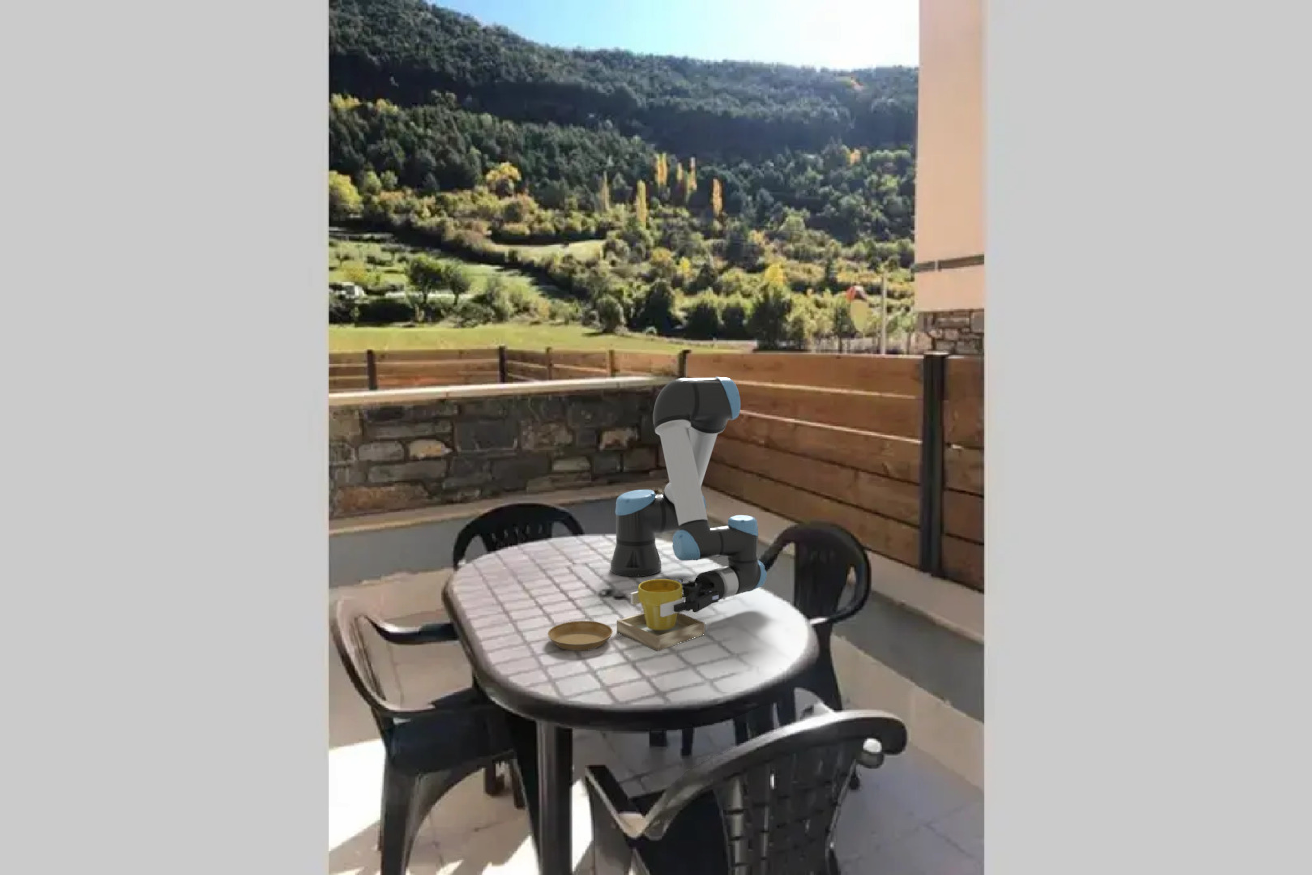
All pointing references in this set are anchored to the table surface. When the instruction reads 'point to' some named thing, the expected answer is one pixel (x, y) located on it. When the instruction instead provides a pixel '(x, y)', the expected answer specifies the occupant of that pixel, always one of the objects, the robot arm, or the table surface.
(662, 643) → the tray
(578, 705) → the table surface
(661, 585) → the plant pot
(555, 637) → the plant saucer
